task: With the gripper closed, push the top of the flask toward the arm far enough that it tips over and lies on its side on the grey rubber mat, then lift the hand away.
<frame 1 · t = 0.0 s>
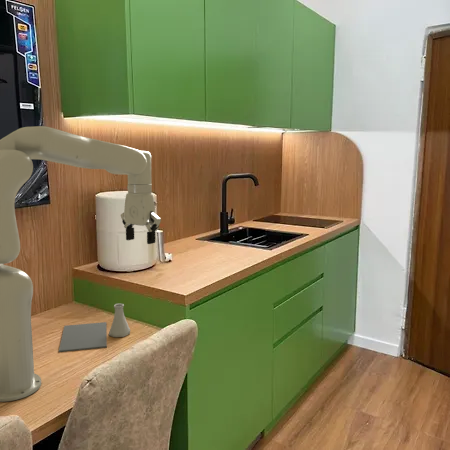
hand: (140, 241, 141), 31 cm above the table, tool pointing down, fingers open, 9 cm apart
mat: (84, 336, 141), on the table
flask: (119, 334, 144), on the table
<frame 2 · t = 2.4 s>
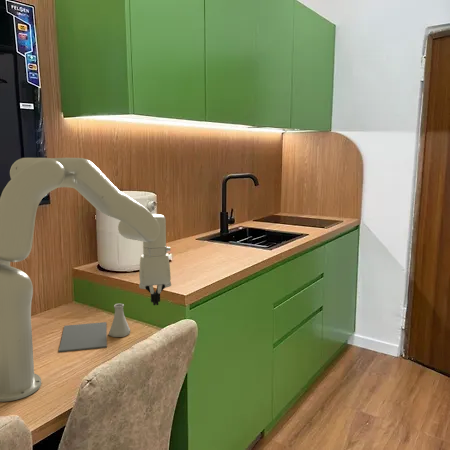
hand: (155, 303, 145), 9 cm above the table, tool pointing down, fingers closed
nothing on the table moved.
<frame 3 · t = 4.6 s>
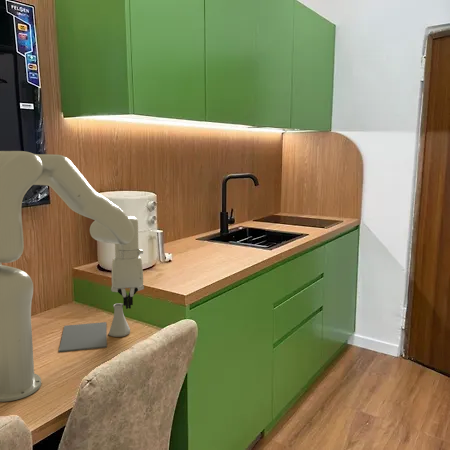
hand: (128, 307, 143), 9 cm above the table, tool pointing down, fingers closed
flask: (119, 333, 144), on the table, touching gripper
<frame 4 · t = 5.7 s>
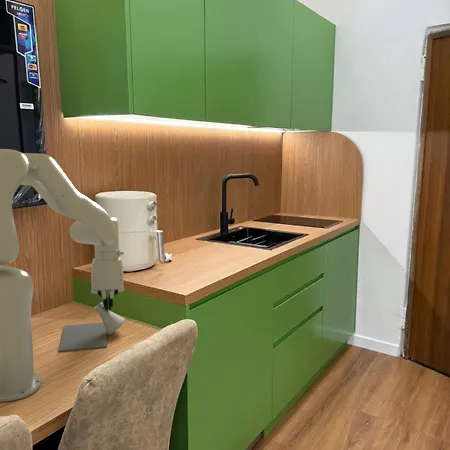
hand: (108, 309, 141), 9 cm above the table, tool pointing down, fingers closed
flask: (117, 328, 143), point 2 cm above the table
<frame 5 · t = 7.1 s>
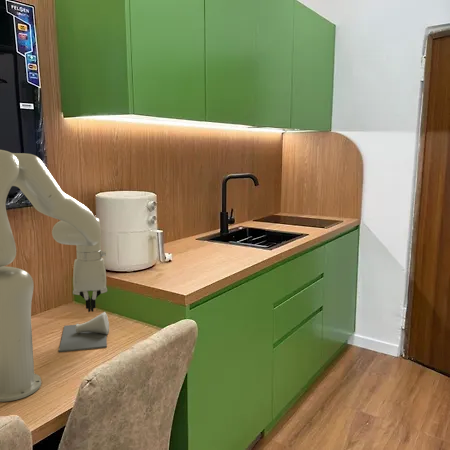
hand: (90, 310, 140), 9 cm above the table, tool pointing down, fingers closed
flask: (107, 322, 143), point 4 cm above the table, touching mat
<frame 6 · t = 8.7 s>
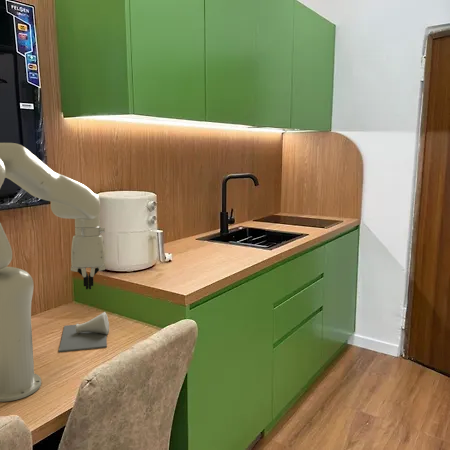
hand: (88, 288, 138), 17 cm above the table, tool pointing down, fingers closed
nothing on the table moved.
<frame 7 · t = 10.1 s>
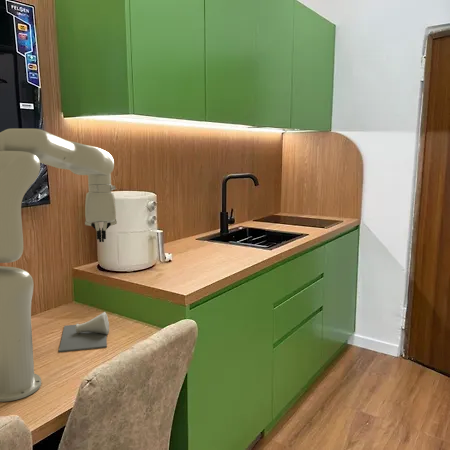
hand: (101, 241, 150), 29 cm above the table, tool pointing down, fingers closed
nothing on the table moved.
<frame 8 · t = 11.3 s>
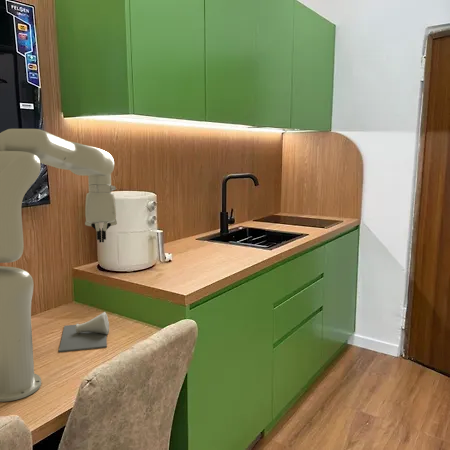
hand: (101, 241, 150), 29 cm above the table, tool pointing down, fingers closed
nothing on the table moved.
at the end: flask tilted 101°; flask touching mat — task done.
